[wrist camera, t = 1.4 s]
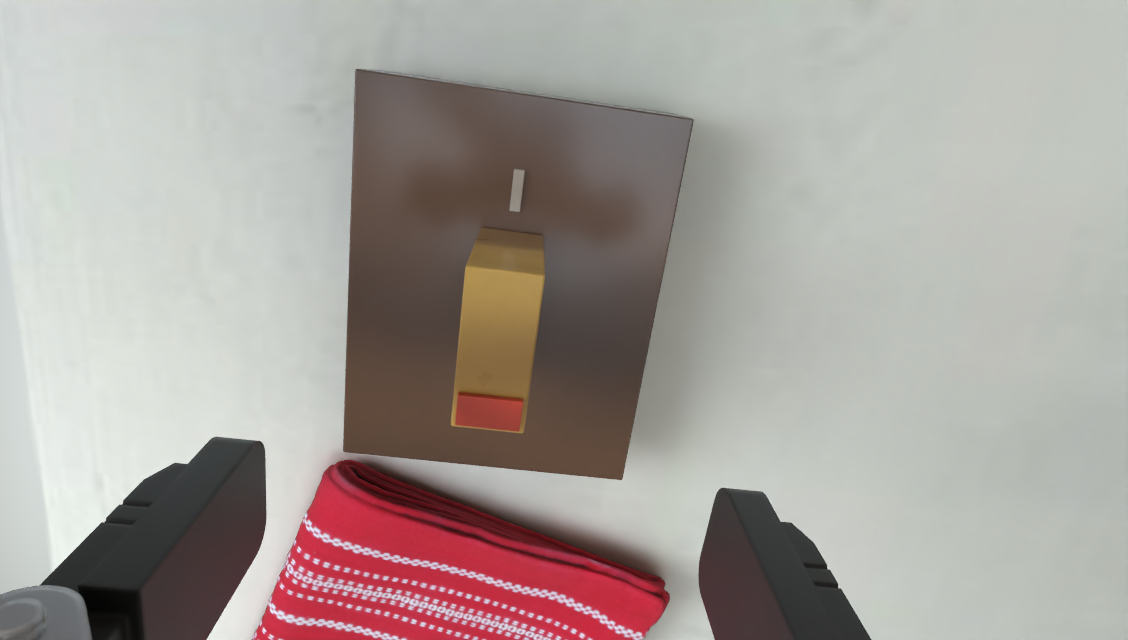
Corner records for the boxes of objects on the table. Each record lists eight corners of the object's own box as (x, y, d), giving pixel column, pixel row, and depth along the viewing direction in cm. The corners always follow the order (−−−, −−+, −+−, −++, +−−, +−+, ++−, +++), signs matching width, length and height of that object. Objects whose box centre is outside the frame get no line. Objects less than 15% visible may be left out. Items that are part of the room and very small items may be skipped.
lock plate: (376, 69, 24) (353, 68, 21) (676, 114, 25) (695, 118, 22) (362, 415, 28) (341, 454, 25) (614, 442, 29) (622, 482, 26)
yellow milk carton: (480, 226, 23) (464, 267, 18) (544, 235, 23) (545, 278, 18) (467, 359, 24) (449, 430, 19) (526, 366, 25) (523, 438, 20)
